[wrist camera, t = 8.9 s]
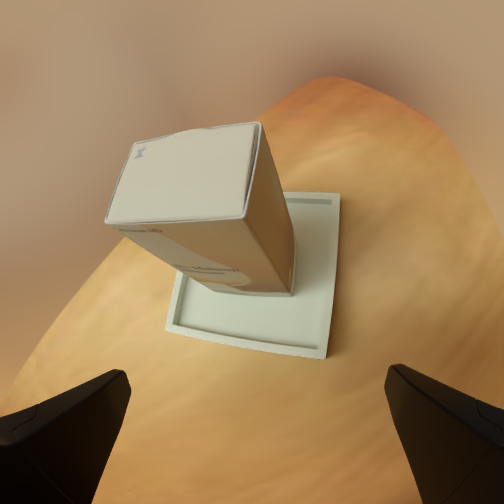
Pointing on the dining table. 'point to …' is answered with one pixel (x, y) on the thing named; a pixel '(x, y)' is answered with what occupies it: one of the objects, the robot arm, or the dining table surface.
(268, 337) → the sage dish
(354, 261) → the dining table surface
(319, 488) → the dining table surface
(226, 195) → the skincare box
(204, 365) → the dining table surface
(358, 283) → the dining table surface
